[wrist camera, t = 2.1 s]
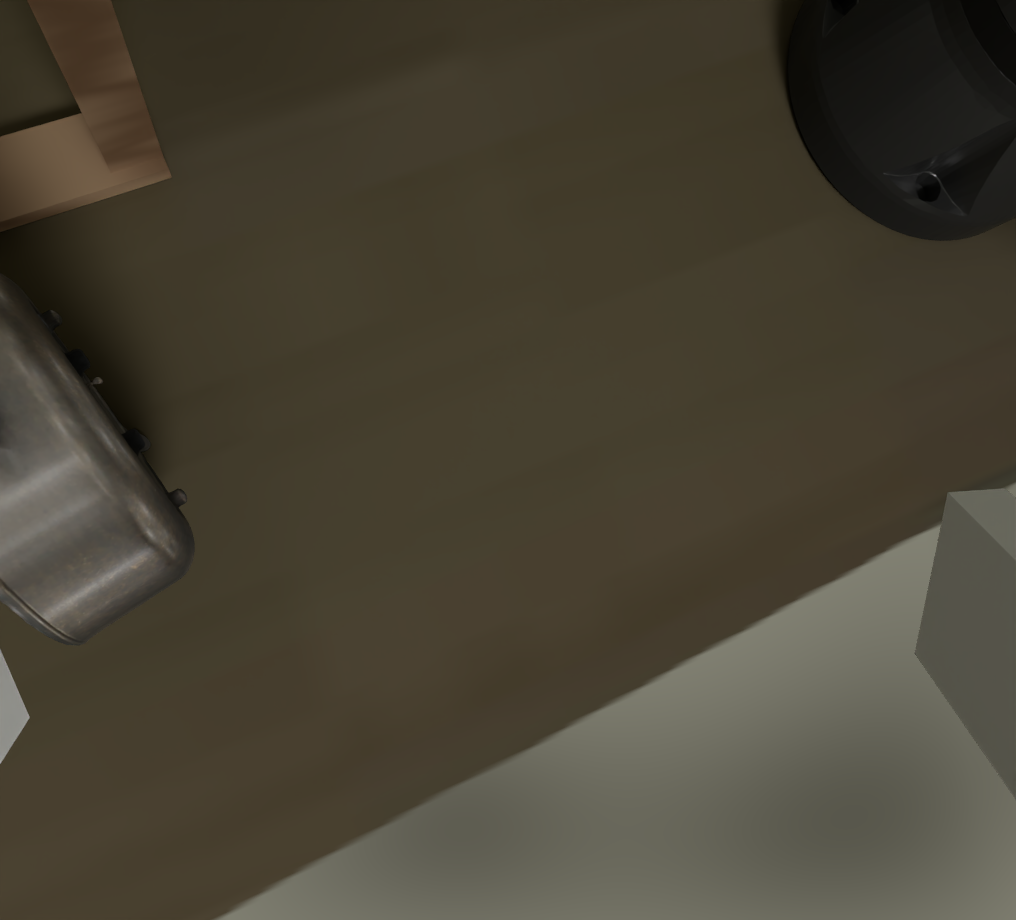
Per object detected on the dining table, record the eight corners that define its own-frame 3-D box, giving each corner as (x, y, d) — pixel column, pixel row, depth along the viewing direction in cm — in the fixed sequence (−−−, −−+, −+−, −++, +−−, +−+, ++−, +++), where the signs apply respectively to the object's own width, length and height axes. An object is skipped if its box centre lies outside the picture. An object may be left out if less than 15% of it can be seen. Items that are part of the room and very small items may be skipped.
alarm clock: (-65, 385, 31) (-443, 211, 15) (74, 310, 32) (-138, 77, 16) (112, 634, 31) (-73, 718, 15) (241, 549, 33) (191, 546, 17)
